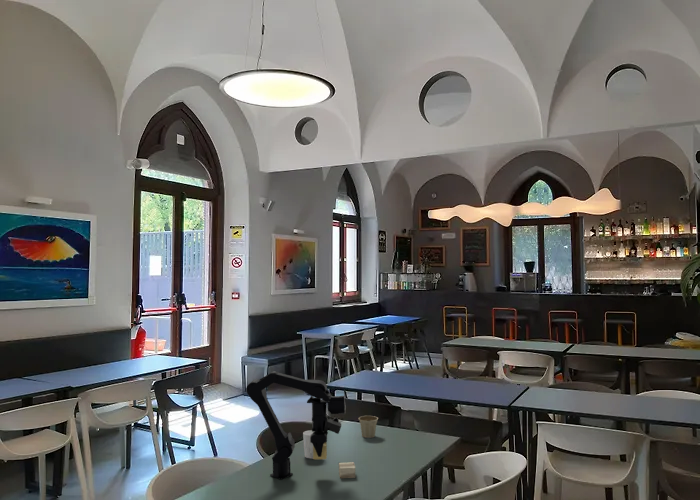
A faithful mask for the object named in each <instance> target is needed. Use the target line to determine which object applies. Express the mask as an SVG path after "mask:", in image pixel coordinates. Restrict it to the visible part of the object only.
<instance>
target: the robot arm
mask: <svg viewBox="0 0 700 500" xmlns="http://www.w3.org/2000/svg"><path fill="white" fill-rule="evenodd" d="M272 384H277V385H281V386H285V387H289V388H291V389H296V390H300V391H302V392H304V393H306V394H307V395H309V396H310V397H309V398H308V399H307V400H306V403H307V404H311V422H312V423H311V424H312V427H311V430H312V432H313V433H312V434H311V437H310V442H311V443H312V444H313V446H314V448H315V450H316V453H317V455H318V457H321V454H322V448H323V444H324V443H326V442H327V443H328V434H329V432H328V431H330V432H333V433H335V434H336V435H339V434H340V431H341V427H342V423H341V422H340V421H339V418H338V417H334V418H332V419H329V416H328V415H327V414H328V413H327V411H328V412H329V413H330V414H331V415H346V408H347V406H346V404H347V403H346V398H345V396H346V395H338V396H336V395H335V396H334V395H332V394H331V392H330V391H329V390H328V388H327V387H328V386H327V384H326V382H325V381H324V380H321V379H320V380H319V379H304V378H301V377H297V376H293V375H289V374H285V373H281V372H278V371H275V370H274V371H271V372H270V373H268V374H267V375H265V376H263V377H261V378H259V379H257V378H256V379H253V380H252V381H250V382H249V383H248V384H247V386H246V388H245V391H246V394H247V396H248V397H249V398H250V399H251V401H252V402H254V403H255V404H256V405H257V406H258V408H259V410H260V413H261V414H262V416H263V418H264V421H265V422H266V424H267V426H268V428H269V430H270V433H271V434H272V435H273V438H274V444H275V449H276V450H275V452H274V453H273V454H272V458H271V459H272V473H270V474H269V476H270V477H273V478H276V479H278V480H283V479H285V478H288V477H291V476H293V472H291V459H290V457H291V456H292V454H293V452H294V450H295V447H296V446H295V445H296V444H295V442H296V440H295V439H294V438H293V435H292V433H291V432H288V433H287V432H286V431H284V428H283V426H282V425H281V423H280V421H279V419H278V417H277V415H276V413H275V411H274V409H273V407H272V405H271V403H270V401H269V400H268V395H267V390H266V388H268V387H270V386H271V385H272Z"/></svg>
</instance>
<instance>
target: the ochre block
mask: <svg viewBox="0 0 700 500" xmlns="http://www.w3.org/2000/svg"><path fill="white" fill-rule="evenodd" d="M327 443H328V441H327V442H326V443H324V444H323V448H322V454H321V457H318V455H317V453H316V450H315V448H314V446H313V460H327V455H328V451H327V449H328V448H327V447H328V445H327Z"/></svg>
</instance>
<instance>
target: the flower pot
mask: <svg viewBox="0 0 700 500" xmlns="http://www.w3.org/2000/svg"><path fill="white" fill-rule="evenodd" d="M378 420H379V417H377V416H375V415H374V416H373V415H362V416H359V417H358V421H359V425H360V429H361V436H362V438H364V439H366V438H368V439H372V438H375V436H376V430H377V428H376V427H377V423H378Z"/></svg>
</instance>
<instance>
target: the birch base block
mask: <svg viewBox="0 0 700 500" xmlns="http://www.w3.org/2000/svg"><path fill="white" fill-rule="evenodd" d="M338 475H339V479H355V478H356V464H355V462H353V461H351V462H338Z"/></svg>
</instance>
